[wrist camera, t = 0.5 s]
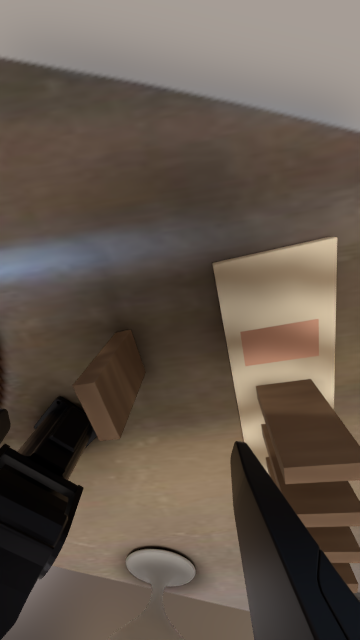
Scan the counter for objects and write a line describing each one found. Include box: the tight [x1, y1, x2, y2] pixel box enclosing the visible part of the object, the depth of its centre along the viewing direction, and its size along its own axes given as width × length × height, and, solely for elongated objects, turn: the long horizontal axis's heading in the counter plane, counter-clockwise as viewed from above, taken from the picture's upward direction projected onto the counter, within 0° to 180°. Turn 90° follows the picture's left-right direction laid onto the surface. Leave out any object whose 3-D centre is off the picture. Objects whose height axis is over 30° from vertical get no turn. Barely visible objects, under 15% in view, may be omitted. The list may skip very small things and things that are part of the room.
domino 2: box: [256, 379, 360, 484], centre depth 18 cm, size 2×5×8 cm, turn 104°
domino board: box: [212, 237, 337, 474], centre depth 23 cm, size 32×9×1 cm, turn 13°
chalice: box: [107, 549, 196, 640], centre depth 32 cm, size 14×14×15 cm
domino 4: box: [266, 457, 360, 563], centre depth 21 cm, size 2×5×8 cm, turn 103°
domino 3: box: [261, 424, 360, 527], centre depth 20 cm, size 2×5×8 cm, turn 103°
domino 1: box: [72, 330, 146, 441], centre depth 19 cm, size 2×5×8 cm, turn 13°
